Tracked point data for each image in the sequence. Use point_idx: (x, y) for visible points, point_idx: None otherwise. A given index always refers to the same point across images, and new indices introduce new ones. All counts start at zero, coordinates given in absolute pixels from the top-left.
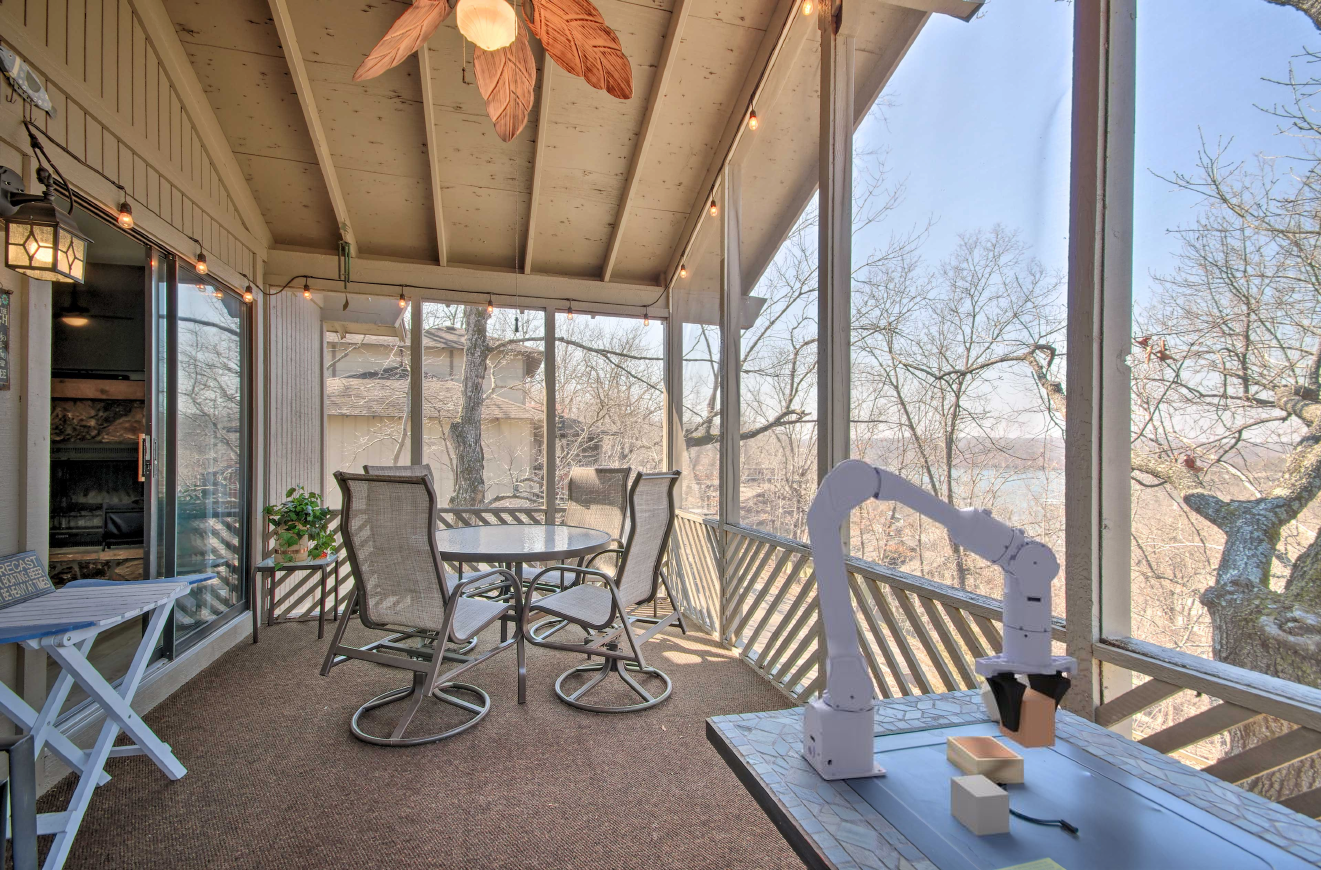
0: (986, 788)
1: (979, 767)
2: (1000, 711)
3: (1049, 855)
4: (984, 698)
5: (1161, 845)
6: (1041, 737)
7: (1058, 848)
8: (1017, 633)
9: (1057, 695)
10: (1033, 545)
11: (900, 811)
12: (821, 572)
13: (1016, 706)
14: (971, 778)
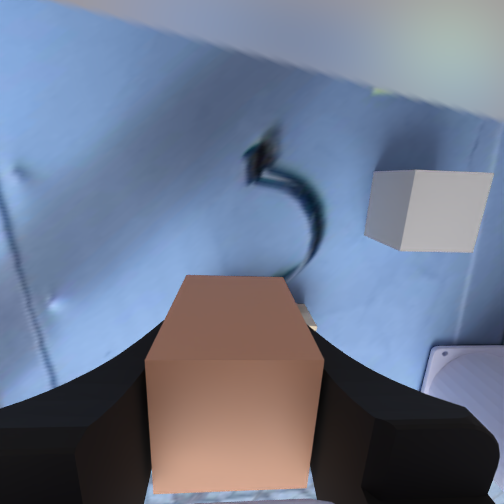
0: (441, 200)
1: (306, 318)
2: None
3: (367, 97)
4: None
5: (128, 69)
6: (232, 285)
7: (333, 110)
8: None
9: (108, 384)
10: None
11: (491, 255)
12: None
13: (340, 359)
14: (436, 240)
